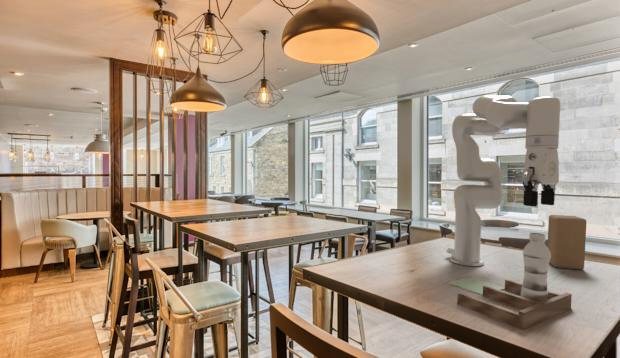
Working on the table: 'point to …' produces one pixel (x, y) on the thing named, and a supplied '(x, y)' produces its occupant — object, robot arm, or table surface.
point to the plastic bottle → (536, 268)
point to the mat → (474, 285)
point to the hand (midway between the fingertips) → (539, 205)
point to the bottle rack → (516, 305)
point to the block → (567, 241)
